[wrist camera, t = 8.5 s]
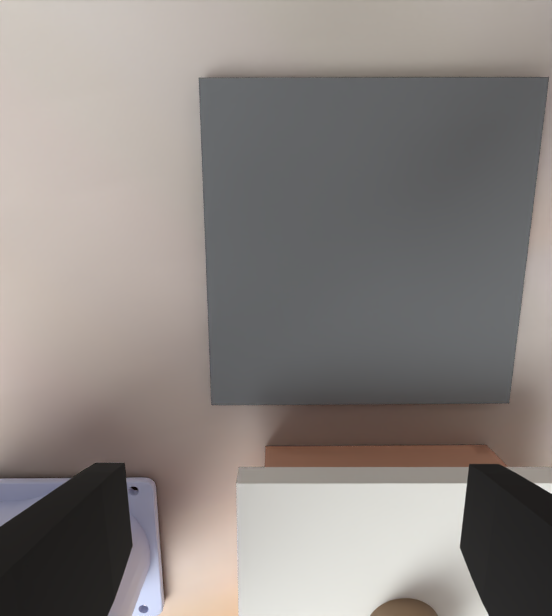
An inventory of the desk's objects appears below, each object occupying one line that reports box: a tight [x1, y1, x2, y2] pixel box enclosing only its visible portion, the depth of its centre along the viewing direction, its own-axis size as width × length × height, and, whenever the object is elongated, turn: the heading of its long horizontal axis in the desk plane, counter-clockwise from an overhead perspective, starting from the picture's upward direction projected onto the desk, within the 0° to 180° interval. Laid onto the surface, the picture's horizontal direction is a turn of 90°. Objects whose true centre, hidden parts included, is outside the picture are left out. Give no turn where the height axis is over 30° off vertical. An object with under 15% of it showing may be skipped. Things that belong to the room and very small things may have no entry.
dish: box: [265, 445, 508, 467], centre depth 18 cm, size 11×11×4 cm
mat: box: [199, 77, 549, 405], centre depth 17 cm, size 14×14×1 cm
